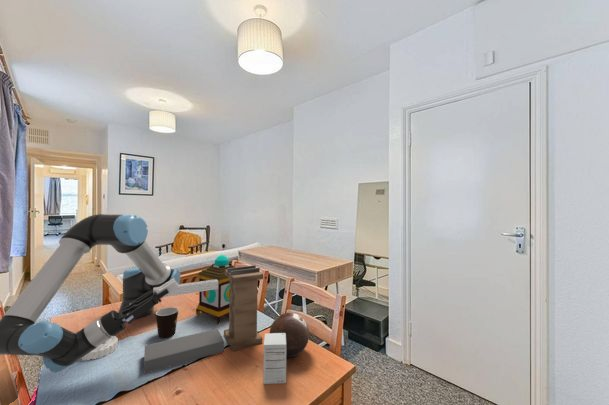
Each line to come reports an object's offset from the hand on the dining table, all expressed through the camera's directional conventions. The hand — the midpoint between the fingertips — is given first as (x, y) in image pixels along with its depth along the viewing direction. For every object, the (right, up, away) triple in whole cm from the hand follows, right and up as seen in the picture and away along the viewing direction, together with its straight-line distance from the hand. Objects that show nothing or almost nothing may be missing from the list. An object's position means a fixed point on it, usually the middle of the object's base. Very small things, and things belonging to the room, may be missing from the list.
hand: (176, 282), depth 95 cm
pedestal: (+21, -28, +13) cm, 37 cm away
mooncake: (-31, -27, +3) cm, 41 cm away
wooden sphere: (+41, -28, +3) cm, 50 cm away
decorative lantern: (+5, -27, +37) cm, 46 cm away
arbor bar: (+3, -4, +2) cm, 6 cm away
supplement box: (+37, -28, -10) cm, 48 cm away
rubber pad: (+2, -27, +2) cm, 27 cm away
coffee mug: (-11, -27, +17) cm, 34 cm away
